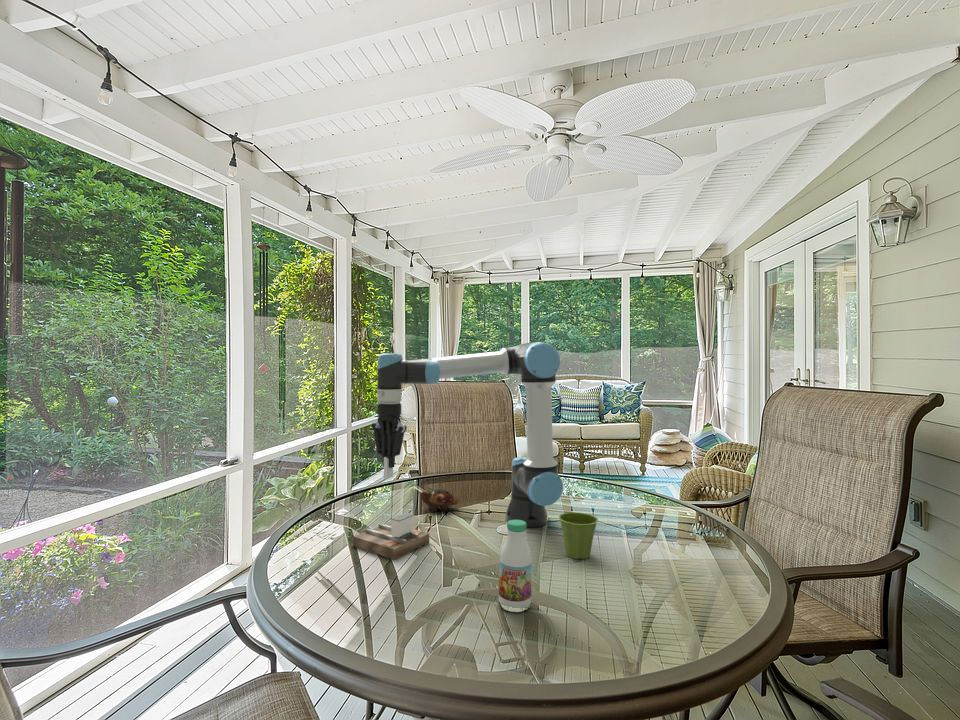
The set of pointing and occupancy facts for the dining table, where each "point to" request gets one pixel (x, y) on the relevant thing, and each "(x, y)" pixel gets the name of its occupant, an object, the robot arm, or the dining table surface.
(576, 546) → the plant pot
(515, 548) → the milk bottle
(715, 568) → the dining table surface
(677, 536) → the dining table surface
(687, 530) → the dining table surface
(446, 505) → the decorative turtle
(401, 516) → the fader knob
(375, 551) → the fader console
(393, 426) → the robot arm
